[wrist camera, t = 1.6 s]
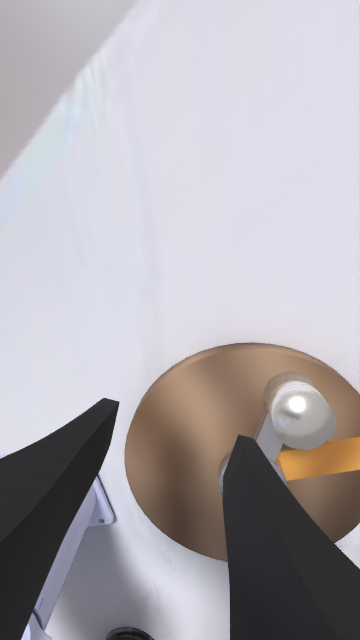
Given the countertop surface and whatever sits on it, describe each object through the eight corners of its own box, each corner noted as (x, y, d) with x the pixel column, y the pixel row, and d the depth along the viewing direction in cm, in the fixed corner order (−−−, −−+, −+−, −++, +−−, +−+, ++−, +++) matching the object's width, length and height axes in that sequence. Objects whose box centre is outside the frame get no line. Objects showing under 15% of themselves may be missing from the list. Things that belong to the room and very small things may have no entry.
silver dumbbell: (270, 505, 21) (284, 563, 17) (211, 489, 21) (212, 543, 18) (328, 375, 18) (360, 411, 14) (258, 356, 18) (272, 387, 14)
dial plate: (166, 556, 26) (164, 578, 24) (97, 374, 22) (88, 385, 20) (386, 530, 23) (399, 552, 22) (357, 314, 19) (371, 321, 17)
